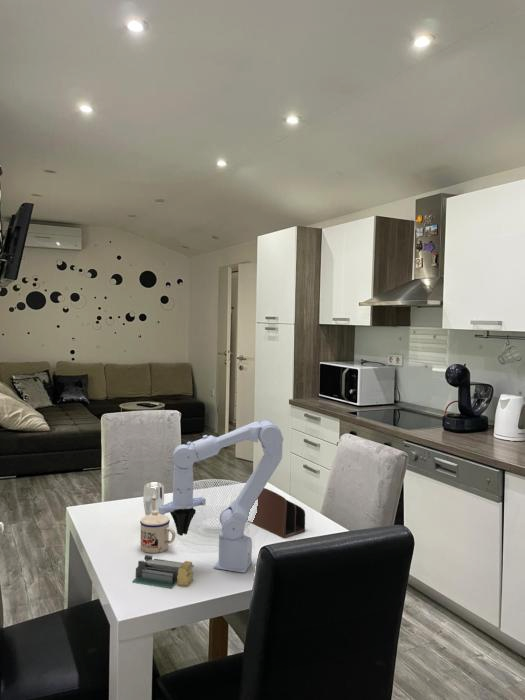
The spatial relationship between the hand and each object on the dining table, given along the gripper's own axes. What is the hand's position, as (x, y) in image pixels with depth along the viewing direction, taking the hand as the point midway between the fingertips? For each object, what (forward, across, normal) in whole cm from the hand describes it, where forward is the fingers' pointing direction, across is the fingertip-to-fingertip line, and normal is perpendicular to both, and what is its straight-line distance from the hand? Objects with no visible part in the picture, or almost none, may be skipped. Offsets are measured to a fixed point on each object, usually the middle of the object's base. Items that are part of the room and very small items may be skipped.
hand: (182, 533), depth 160 cm
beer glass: (+10, +8, +32) cm, 34 cm away
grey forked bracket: (+10, -10, +2) cm, 15 cm away
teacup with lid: (+10, +1, +16) cm, 19 cm away
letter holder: (+10, +43, +8) cm, 45 cm away
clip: (+10, -4, -8) cm, 14 cm away
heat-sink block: (+10, -7, -2) cm, 12 cm away
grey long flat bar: (+7, -6, -3) cm, 10 cm away
